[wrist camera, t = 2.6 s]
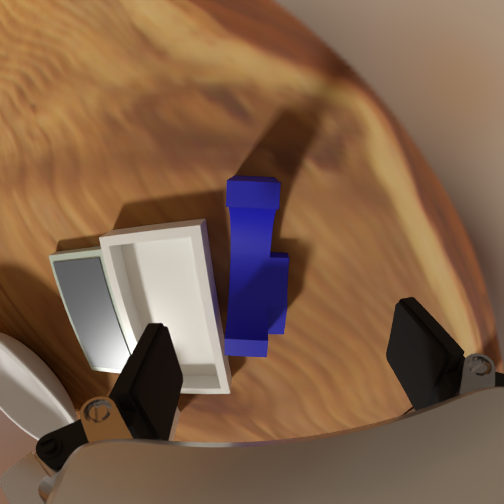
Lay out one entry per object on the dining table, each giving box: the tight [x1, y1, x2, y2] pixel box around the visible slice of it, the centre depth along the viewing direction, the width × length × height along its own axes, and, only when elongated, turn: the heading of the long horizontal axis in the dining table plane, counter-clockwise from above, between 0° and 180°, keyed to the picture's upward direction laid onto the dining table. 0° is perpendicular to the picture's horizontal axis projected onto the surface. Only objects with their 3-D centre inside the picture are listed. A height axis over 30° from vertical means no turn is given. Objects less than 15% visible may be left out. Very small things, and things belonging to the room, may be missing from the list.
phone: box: [49, 246, 133, 373], centre depth 24 cm, size 7×14×1 cm, turn 5°
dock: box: [99, 218, 232, 394], centre depth 24 cm, size 9×17×2 cm, turn 5°
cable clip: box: [225, 175, 289, 357], centre depth 20 cm, size 12×4×6 cm, turn 177°
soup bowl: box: [0, 333, 78, 441], centre depth 26 cm, size 24×24×7 cm
